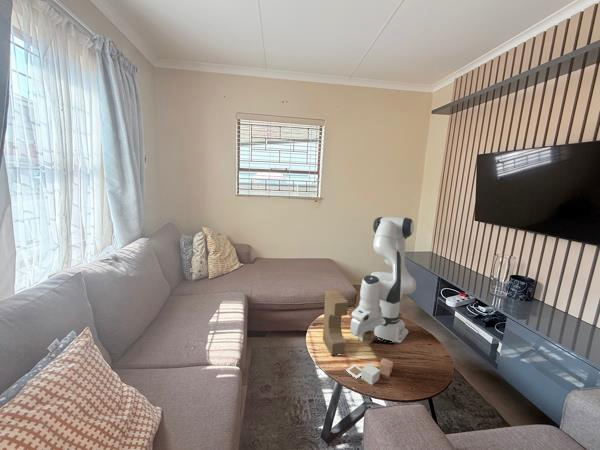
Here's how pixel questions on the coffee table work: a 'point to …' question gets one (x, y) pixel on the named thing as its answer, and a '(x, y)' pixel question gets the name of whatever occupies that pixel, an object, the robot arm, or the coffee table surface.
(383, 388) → the coffee table surface
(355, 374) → the card
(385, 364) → the terracotta cube
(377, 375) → the base block
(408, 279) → the robot arm
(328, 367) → the coffee table surface
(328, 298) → the decorative block
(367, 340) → the walnut cube
